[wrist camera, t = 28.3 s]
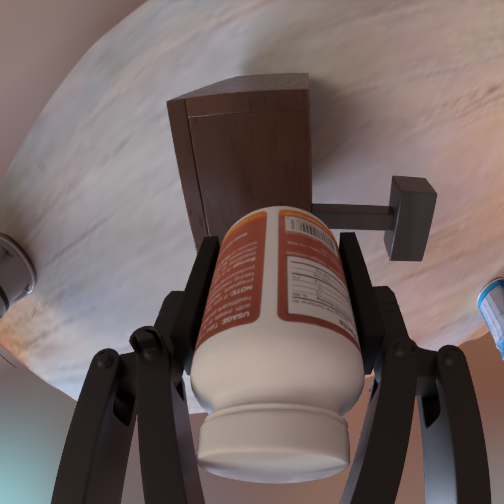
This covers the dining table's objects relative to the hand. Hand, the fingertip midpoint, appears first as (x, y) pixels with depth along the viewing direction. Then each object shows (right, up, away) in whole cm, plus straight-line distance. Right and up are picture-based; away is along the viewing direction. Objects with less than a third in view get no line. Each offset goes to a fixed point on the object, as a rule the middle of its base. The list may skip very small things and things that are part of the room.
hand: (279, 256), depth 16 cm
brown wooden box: (-4, +7, +11) cm, 14 cm away
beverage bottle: (+44, -7, +29) cm, 54 cm away
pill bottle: (0, 0, 0) cm, 1 cm away
